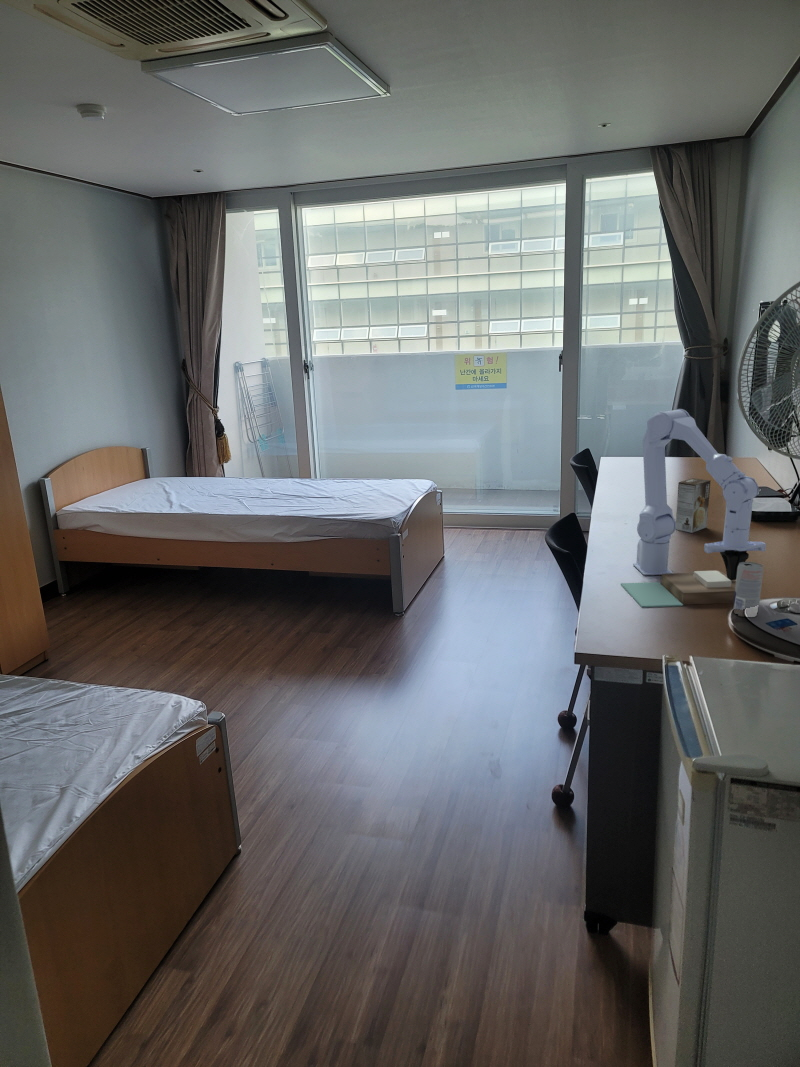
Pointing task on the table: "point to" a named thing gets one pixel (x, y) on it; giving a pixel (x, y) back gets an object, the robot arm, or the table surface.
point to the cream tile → (712, 579)
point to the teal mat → (651, 594)
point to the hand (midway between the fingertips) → (731, 578)
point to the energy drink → (748, 585)
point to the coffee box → (692, 505)
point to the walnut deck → (696, 589)
